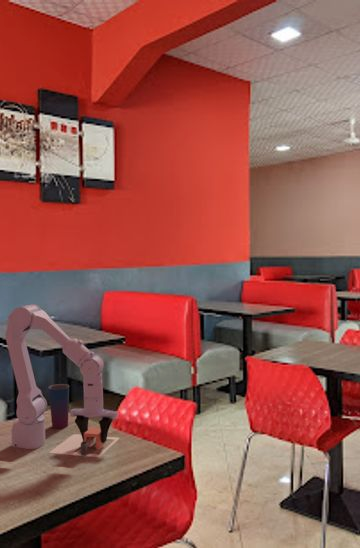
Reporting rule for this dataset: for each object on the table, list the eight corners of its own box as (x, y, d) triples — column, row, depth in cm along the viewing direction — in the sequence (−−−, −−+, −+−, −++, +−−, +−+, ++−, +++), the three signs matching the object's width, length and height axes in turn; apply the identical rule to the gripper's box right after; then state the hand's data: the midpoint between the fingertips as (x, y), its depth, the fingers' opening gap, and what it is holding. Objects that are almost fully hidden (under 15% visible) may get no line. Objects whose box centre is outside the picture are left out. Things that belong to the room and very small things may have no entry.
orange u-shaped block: (84, 449, 158) (83, 433, 158) (91, 443, 163) (90, 427, 163) (98, 451, 157) (98, 434, 157) (105, 444, 162) (104, 428, 162)
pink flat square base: (48, 457, 155) (48, 440, 155) (73, 438, 171) (73, 423, 171) (99, 462, 151) (98, 445, 151) (120, 442, 167) (119, 426, 166)
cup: (54, 427, 183) (52, 383, 182) (73, 427, 182) (72, 384, 181) (46, 433, 176) (45, 389, 175) (66, 434, 175) (65, 389, 174)
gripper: (65, 398, 157) (66, 444, 158) (110, 401, 154) (111, 447, 154) (75, 392, 164) (77, 435, 165) (119, 395, 160) (120, 439, 161)
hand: (94, 441), depth 160 cm, fingers open, 5 cm apart
